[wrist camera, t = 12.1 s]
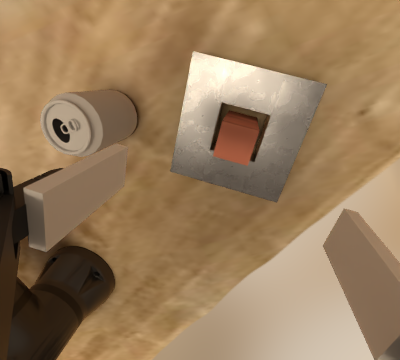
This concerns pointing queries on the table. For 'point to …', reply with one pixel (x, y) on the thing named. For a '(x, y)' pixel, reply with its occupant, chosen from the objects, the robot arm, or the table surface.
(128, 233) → the table surface
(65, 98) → the can
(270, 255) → the table surface
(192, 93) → the socket block
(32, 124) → the table surface
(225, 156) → the peg
